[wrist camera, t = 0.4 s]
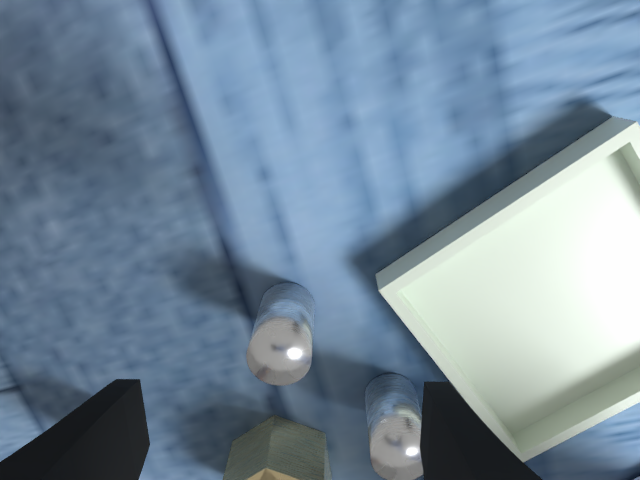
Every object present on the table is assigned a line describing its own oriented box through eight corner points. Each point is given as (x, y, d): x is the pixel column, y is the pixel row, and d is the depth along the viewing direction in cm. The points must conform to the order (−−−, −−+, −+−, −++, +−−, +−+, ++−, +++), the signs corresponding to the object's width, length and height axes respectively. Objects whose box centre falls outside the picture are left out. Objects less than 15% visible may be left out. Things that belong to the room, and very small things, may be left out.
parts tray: (727, 321, 22) (755, 341, 21) (505, 440, 25) (517, 465, 23) (613, 116, 19) (636, 121, 18) (375, 274, 22) (378, 290, 20)
